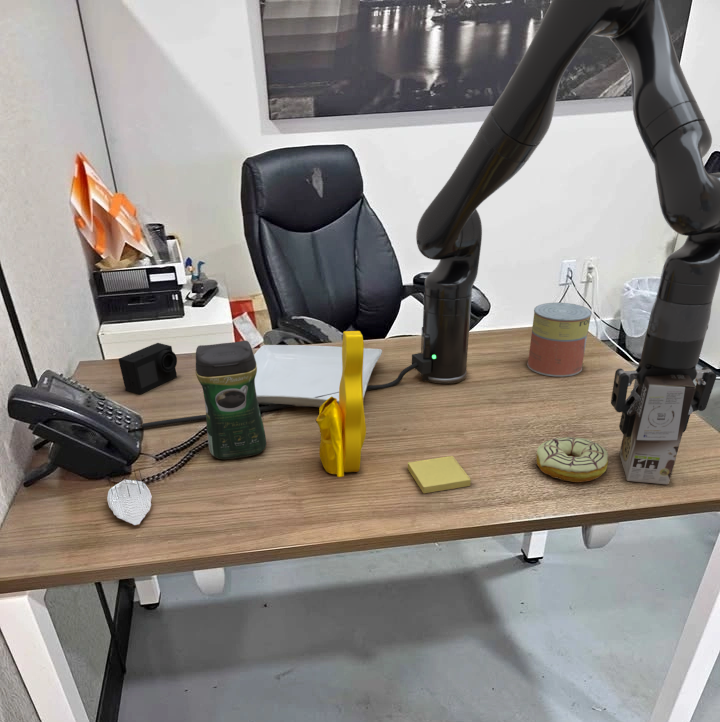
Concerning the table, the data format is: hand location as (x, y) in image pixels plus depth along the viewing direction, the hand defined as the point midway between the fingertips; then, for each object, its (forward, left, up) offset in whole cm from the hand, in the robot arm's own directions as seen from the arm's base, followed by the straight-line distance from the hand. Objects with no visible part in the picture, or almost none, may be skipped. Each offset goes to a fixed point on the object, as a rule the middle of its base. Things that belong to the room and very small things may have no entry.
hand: (650, 434), depth 100 cm
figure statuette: (-47, +2, -6) cm, 48 cm away
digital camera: (-87, +36, -6) cm, 95 cm away
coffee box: (0, 0, -6) cm, 6 cm away
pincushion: (-78, -9, -6) cm, 79 cm away
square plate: (-55, +34, -6) cm, 65 cm away
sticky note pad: (-32, -2, -6) cm, 33 cm away
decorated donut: (-11, 0, -6) cm, 13 cm away
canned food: (-3, +42, -6) cm, 43 cm away
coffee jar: (-65, +8, -6) cm, 66 cm away
